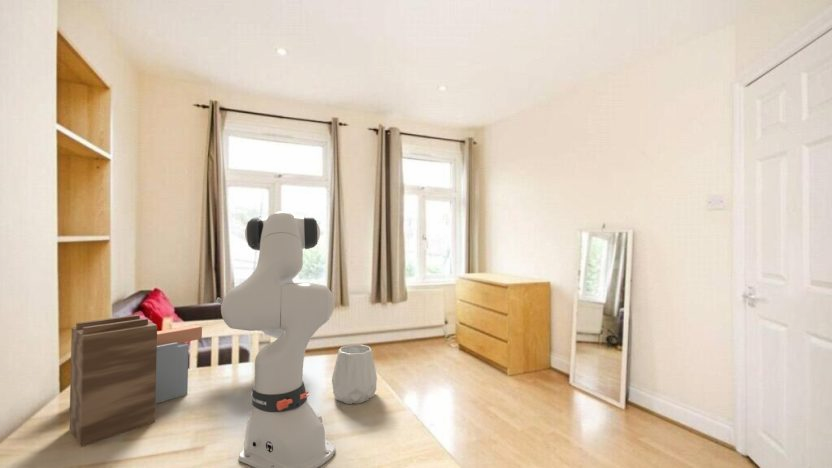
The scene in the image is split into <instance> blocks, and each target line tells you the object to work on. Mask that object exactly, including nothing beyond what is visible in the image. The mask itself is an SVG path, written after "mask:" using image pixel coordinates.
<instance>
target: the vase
mask: <svg viewBox="0 0 832 468" xmlns="http://www.w3.org/2000/svg"><path fill="white" fill-rule="evenodd" d="M373 355H374V354H373V350H372V348H371V347H370V346H369V345H365V344H359V343H358V344H356V343H354V344H348V345H344V346H341V347H340V348H338V351H337V356H336V360H335V365H334V369H333V373H332V378H331V384H332V391H333V392H332V393H333V395H334V397H335V399H336V400H337V401H338V402H342V403H344V404H347V405H353V404H352V403H356V404H362V402H363V403H364V401H365V402H367V401H368V400H370V399H371V398H373V397H374V395H375V393H376V392H377V380H378V377H377V369H376V364H375V359H374V356H373ZM369 398H370V399H369ZM366 400H367V401H366Z"/></svg>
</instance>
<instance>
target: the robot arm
mask: <svg viewBox="0 0 832 468" xmlns="http://www.w3.org/2000/svg"><path fill="white" fill-rule="evenodd" d="M244 236H245V237H244V238H245V240H246V243H247V245H248V247H249V248H251V249H252V250H253V251H259V253H258V259H257V265H256V267H255V269H254V271H253V272H252V273H251V274H250V275H249V277H248V278H247V279H246V280H244V281H243V282H241V283H239V284H238V285H236V286H233V287H231V289H229V291H228V292H227V293H226V294H225V295H224V298H221V297H217V298H216V300H215V303H217V304H218V305H220V313H221V317H222V320H223V321H224V324H225V325H226V326H227V327H228V328H230V329H233V330H241V331H249V332H251V331H252V332H253V331H257V332H261V333H264V334H265V335H266V336H269V337H271V338H274V339H275V340H274V341H271V342H270V343H268V344H267V345H265V346H263V347H262V348H261V349H260V350H259V351H258V352H257V354H256V355H255V359H254V381H253V382H254V385H253V387H252V391H251V405H252V408H251V411H250V414H249V416H248V417H247V420H246V427H245V435H244V443H243V449H242V450H241V452H240V453H239V454H238V461H239V462H241V463H243V464H246V465H249V466H250V467H253V468H319V467H321V466H322V465H324V464H325V463H327V462H328V461H329V460H330V459H332V457H333V456H334V455H335V452H336V446H335V445H334V444H332V442H330V440H328V439H327V438H326V436H325V435H326V433H325V427H324V424H323V416H321V414H320V415H319V414H318V415H317V414H316V412H315V411H314V410H313V408H312V407H311V405H310V404H309V402H308V401H307V400H308V397H309V396H310V395H308V394H310V392H309V391H306V385H305V383H304V381H303V372H304V361H305V360H304V359H305V354H306V350H307V347H308V345H309V342H310V340H311V339H312V338H313V336H314V334H315V333H316V332H317V331H318V330H319V329H320V328H321V327H323V326H324V325H325V324H326V323H327V322H328V321H329V320H330V319H331V317H332V315H333V314H334V310H335V299H334V296H333V295H334V294H333V293H332V290H330V288H329V287H328V286H327V285H323V284H318V283H311V282H296V283H295V282H294V281H293V279H294V278H296V277H297V275H299V273H300V272H301V271H302V269H303V264H304V263H303V259H304V256H303V255H304V254H303V249H304V250H309V249H313V248H315V247H316V246H317V245H318V242H319V240H320V236H321V229H320V226H319V223H317V220H316V219H315V218H314V217H313V216H312V217H311V216H307V215H305V216H296V215H293V214H291V213H290V212H286V211H276V212H274V213H271V214H269V215H268V216H263V217H262V216H257V217H256V216H255V217H253V218H251V219H250V220H248V221H247V224H246V227H245V229H244ZM333 454H334V455H333Z"/></svg>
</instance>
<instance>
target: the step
mask: <svg viewBox="0 0 832 468" xmlns="http://www.w3.org/2000/svg"><path fill="white" fill-rule="evenodd" d="M189 347H190V346H189V344H187V342H183V343H177V342H176V343H171V344H166V345H160V346H157V357H156V401H155V405H156V404H159V403H162V402H165V401H169V400H173V399H175V398H179V397H183V396H186V395H188V389H189V386H188V385H189V382H188V379H189Z"/></svg>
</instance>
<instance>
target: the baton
mask: <svg viewBox="0 0 832 468" xmlns="http://www.w3.org/2000/svg"><path fill="white" fill-rule="evenodd" d="M202 339H203V326H202V325H198V324H193V325H187V326H181V327H176V328H169V329H164V330H157V346H160V345H166V344H171V343H176V342H177V343H183V342H184V343H188V342H192V341H197V340H202Z"/></svg>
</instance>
